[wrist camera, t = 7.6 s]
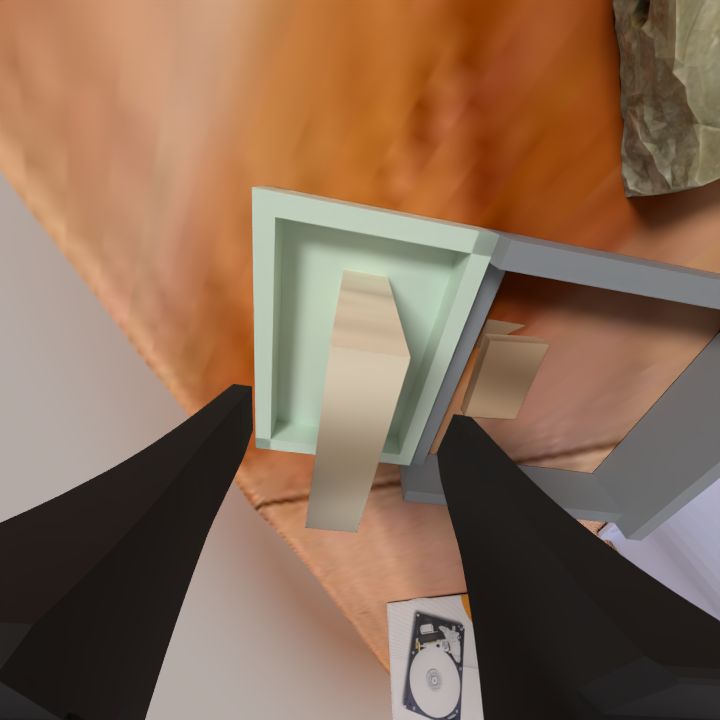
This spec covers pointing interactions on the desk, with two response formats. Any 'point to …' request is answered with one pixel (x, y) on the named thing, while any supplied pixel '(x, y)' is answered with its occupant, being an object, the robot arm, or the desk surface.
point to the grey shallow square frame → (650, 435)
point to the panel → (356, 400)
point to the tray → (320, 297)
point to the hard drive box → (433, 660)
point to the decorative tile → (669, 94)
